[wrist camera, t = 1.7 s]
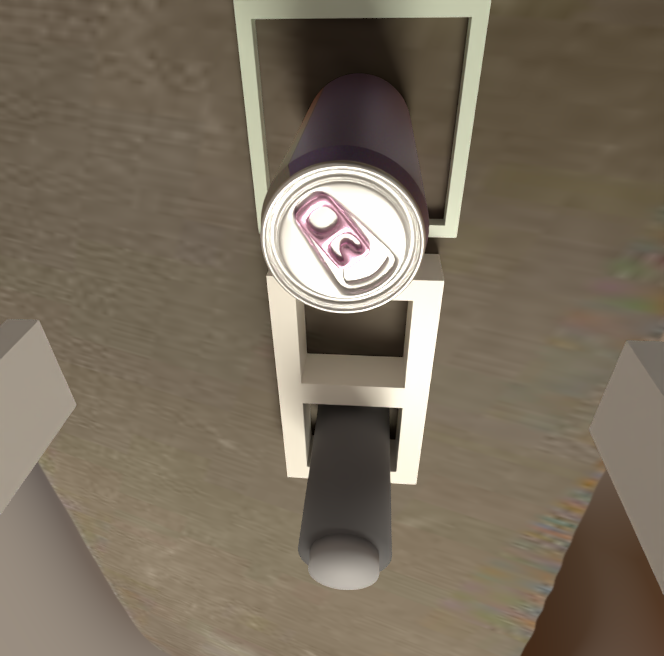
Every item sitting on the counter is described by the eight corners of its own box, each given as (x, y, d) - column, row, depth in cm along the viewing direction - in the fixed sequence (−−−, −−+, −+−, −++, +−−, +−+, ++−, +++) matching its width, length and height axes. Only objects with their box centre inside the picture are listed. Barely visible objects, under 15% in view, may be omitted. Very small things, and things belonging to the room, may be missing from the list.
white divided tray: (275, 249, 34) (266, 275, 31) (438, 254, 33) (444, 280, 30) (293, 445, 46) (287, 476, 43) (413, 451, 45) (416, 484, 42)
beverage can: (369, 45, 26) (360, 114, 14) (430, 137, 29) (466, 263, 17) (286, 118, 29) (217, 228, 17) (348, 197, 31) (328, 343, 19)
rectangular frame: (238, -1, 25) (233, 0, 25) (488, -5, 25) (491, -3, 24) (261, 226, 33) (258, 233, 32) (454, 230, 32) (456, 237, 31)
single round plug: (317, 379, 41) (292, 542, 29) (391, 383, 40) (395, 549, 29) (319, 429, 44) (298, 592, 33) (387, 433, 44) (389, 599, 32)
